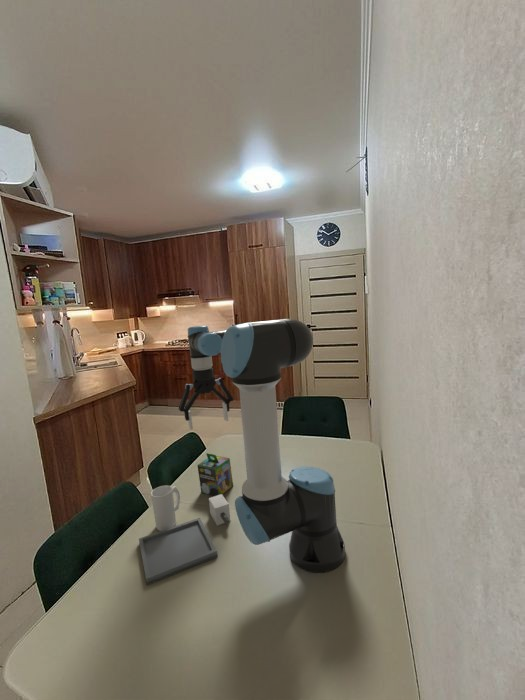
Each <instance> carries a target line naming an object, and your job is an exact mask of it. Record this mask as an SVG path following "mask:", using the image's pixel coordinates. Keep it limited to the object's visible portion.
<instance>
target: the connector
mask: <svg viewBox="0 0 525 700" xmlns="http://www.w3.org/2000/svg"><path fill="white" fill-rule="evenodd" d="M208 503H209V505H208V506H209V512H210V513H209V514H210V516H211V517H212V520H213V521H214V523H215V525H216V526H220V525H221V526H222V525H223V524H225V525H229V524H230V522H231V514H230V513H231V512H230V504H229V502H228V501H227V500H226V498H225V497H224V494H220V495H217V496H211V497H209V498H208Z"/></svg>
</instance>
